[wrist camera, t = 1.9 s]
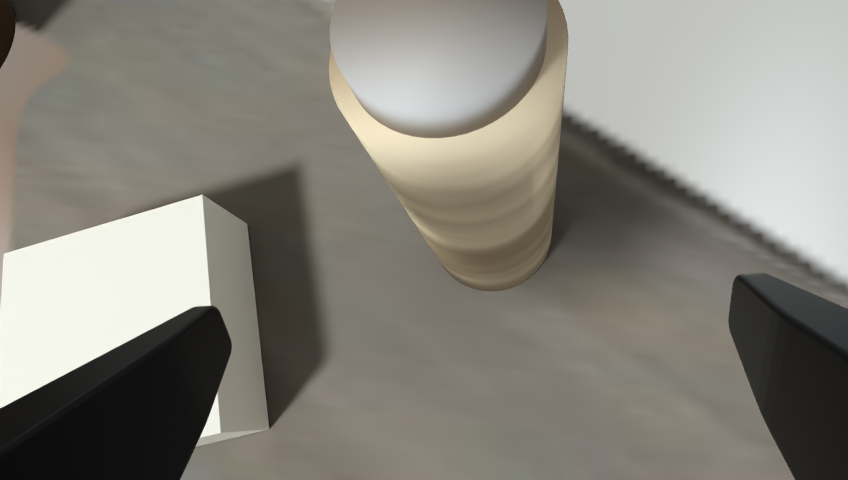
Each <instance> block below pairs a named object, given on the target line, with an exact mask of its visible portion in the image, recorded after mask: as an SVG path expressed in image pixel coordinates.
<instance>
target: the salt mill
mask: <svg viewBox="0 0 848 480" xmlns="http://www.w3.org/2000/svg"><path fill="white" fill-rule="evenodd" d="M330 43H331V52H330V58H329V76H330V85H331V88H332V92H333V96H334V98H335V100H336V103H337V105H338V107H339V109H340V111H341V112H342V114H343V115H344V117H345V118H346V120H347V121H348V123H349V124H350V126H351V127H352V129H353V131H354V132H355V134H356V135H357V137H358V138H359V140H360V141H361V143H362V144H363V146H364V147H365V149H366V150H367V152H368V153H369V155H370V156H371V158H372V159H373V161H374V162H375V164H376V165H377V167H378V168H379V170H380V172H381V173H382V175H383V176H384V178H385V179H386V181H387V182H388V184H389V185H390V187H391V188H392V190H393V191H394V193H395V194H396V196H397V197H398V199H399V200H400V202H401V203H402V205H403V206H404V208H405V210H406V211H407V213H408V214H409V216H410V217H411V219H412V220H413V222H414V223H415V225H416V226H417V228H418V229H419V231H420V232H421V234H422V235H423V237H424V238H425V240H426V241H427V243H428V244H429V246H430V247H431V249H432V251H433V252H434V254H435V255H436V257H437V258H438V260H439V261H440V263H441V264H442V266H443V267H444V269H445V270H446V271H447V272H448V273H449V274H450V275H451V276H452V277H453V278H454V279H456V280H457V281H459V282H460V283H462V284H464V285H466V286H468V287H471V288H474V289H478V290H483V291H499V290H505V289H509V288H512V287H515V286H517V285H519V284H521V283H523V282H524V281H526V280H527V279H529V278H530V277H531V276H532V275H533V274H534V273H535V272H536V271H537V270H538V269H539V268H540V266H541V265H542V264H543V262H544V260H545V258H546V256H547V254H548V251H549V248H550V243H551V236H552V225H553V213H554V202H555V190H556V179H557V168H558V156H559V145H560V133H561V122H562V110H563V99H564V88H565V87H564V86H565V76H566V65H567V53H568V52H567V51H568V30H567V23H566V19H565V16H564V12H563V9H562V7H561V5H560V3H559V1H558V0H336V3H335V6H334V9H333V12H332V17H331V22H330Z"/></svg>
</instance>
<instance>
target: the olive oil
mask: <svg viewBox="0 0 848 480" xmlns="http://www.w3.org/2000/svg"><path fill="white" fill-rule="evenodd" d="M14 34H15V16H14V11H13V8H12V5H11V3H10V2H9V0H0V68H1V66H2V65H3V63H4V61H5V59H6V58H7V55H8V53H9V51H10V48H11V46H12V42H13V39H14Z"/></svg>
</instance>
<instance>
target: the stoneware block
mask: <svg viewBox="0 0 848 480" xmlns="http://www.w3.org/2000/svg"><path fill="white" fill-rule="evenodd" d="M196 306H215V307H217V308H218V309H219V311H220V313H221V315H222V318H223V320H224V323H225V325H226V328H227V330H228V333H229V336H230V338H231V342H232V351H231V355H230V358H229V361H228V364H227V367H226V369H225V372H224V375H223V378H222V381H221V384H220V387H219V389H218V392H217V395H216V398H215V401H214V404H213V406H212V409H211V412H210V415H209V417H208V420H207V422H206V425H205V427H204V429H203V432H202V434H201V436H200V438H199V440H198V443H197V445H196V447H197V446H201V445H205V444H209V443H214V442H218V441H222V440H226V439H230V438H235V437H239V436H243V435H247V434H251V433H256V432H260V431H264V430H268V429H269V422H268V413H267V403H266V394H265V385H264V375H263V366H262V357H261V347H260V338H259V329H258V320H257V310H256V301H255V292H254V282H253V273H252V264H251V254H250V245H249V236H248V226H247V223H245V222H244V221H242V220H241V219H239V218H237V217H236V216H234V215H233V214H231V213H230V212H228V211H227V210H225V209H224V208H222V207H220V206H219V205H217V204H216V203H214V202H213V201H211V200H210V199H208V198H207V197H205V196H203V195H199V196H196V197H193V198H189V199H186V200H183V201H179V202H176V203H173V204H169V205H166V206H163V207H159V208H156V209H153V210H149V211H146V212H142V213H139V214H136V215H132V216H129V217H126V218H122V219H119V220H116V221H112V222H109V223H106V224H102V225H99V226H96V227H92V228H89V229H85V230H82V231H79V232H75V233H72V234H69V235H65V236H62V237H59V238H55V239H52V240H49V241H45V242H42V243H39V244H35V245H32V246H28V247H25V248H22V249H18V250H15V251H12V252H8V253H5V254H4V260H3V276H2V293H1V309H0V408H2V407H4V406H6V405H8V404H9V403H11V402H13V401H15V400H17V399H19V398H21V397H23V396H25V395H27V394H28V393H30V392H32V391H34V390H36V389H38V388H40V387H42V386H44V385H46V384H48V383H49V382H51V381H53V380H55V379H57V378H59V377H61V376H63V375H65V374H67V373H68V372H70V371H72V370H74V369H76V368H78V367H80V366H82V365H84V364H86V363H87V362H89V361H91V360H93V359H95V358H97V357H99V356H101V355H103V354H105V353H107V352H108V351H110V350H112V349H114V348H116V347H118V346H120V345H122V344H124V343H126V342H127V341H129V340H131V339H133V338H135V337H137V336H139V335H141V334H143V333H145V332H147V331H148V330H150V329H152V328H154V327H156V326H158V325H160V324H162V323H164V322H166V321H167V320H169V319H171V318H173V317H175V316H177V315H179V314H181V313H183V312H185V311H186V310H188V309H190V308H192V307H196Z"/></svg>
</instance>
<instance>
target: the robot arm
mask: <svg viewBox="0 0 848 480" xmlns="http://www.w3.org/2000/svg"><path fill="white" fill-rule="evenodd" d="M729 329H730V332H731V335H732V338H733V341H734V343H735V346H736V349H737V351H738V354H739V357H740V359H741V362H742V365H743V367H744V370H745V373H746V375H747V378H748V381H749V383H750V386H751V389H752V391H753V394H754V397H755V399H756V402H757V404H758V407H759V409H760V412H761V414H762V416H763V418H764V420H765V422H766V424H767V427H768V429H769V431H770V432H771V434H772V436H773V438H774V440H775V442H776V444H777V446H778V448H779V450H780V452H781V454H782V455H783V457H784V459H785V461H786V463H787V465H788V467H789V469H790V471H791V473H792V475H793V476H794V478H795V480H848V309H846V308H844V307H842V306H839V305H837V304H835V303H833V302H830V301H828V300H826V299H823V298H821V297H819V296H817V295H814V294H812V293H810V292H807V291H805V290H803V289H801V288H798V287H796V286H794V285H791V284H789V283H787V282H784V281H782V280H780V279H778V278H775V277H773V276H771V275H768V274H765V273H756V274H741V275H738V276H737V277H736V278H735V280H734V282H733V287H732V295H731V302H730V310H729ZM231 351H232V342H231V338H230V336H229V333H228V330H227V328H226V325H225V323H224V320H223V318H222V315H221V313H220V311H219V309H218V308H217V307H215V306H196V307H192V308H190V309H188V310H186V311H185V312H183V313H181V314H179V315H177V316H175V317H173V318H171V319H169V320H167V321H166V322H164V323H162V324H160V325H158V326H156V327H154V328H152V329H150V330H148V331H147V332H145V333H143V334H141V335H139V336H137V337H135V338H133V339H131V340H129V341H127V342H126V343H124V344H122V345H120V346H118V347H116V348H114V349H112V350H110V351H108V352H107V353H105V354H103V355H101V356H99V357H97V358H95V359H93V360H91V361H89V362H87V363H86V364H84V365H82V366H80V367H78V368H76V369H74V370H72V371H70V372H68V373H67V374H65V375H63V376H61V377H59V378H57V379H55V380H53V381H51V382H49V383H48V384H46V385H44V386H42V387H40V388H38V389H36V390H34V391H32V392H30V393H28V394H27V395H25V396H23V397H21V398H19V399H17V400H15V401H13V402H11V403H9V404H8V405H6V406H4V407H2V408H0V480H180V479H181V477H182V474H183V472H184V470H185V468H186V466H187V464H188V462H189V460H190V457H191V455H192V453H193V451H194V449H195V447H196V445H197V443H198V440H199V438H200V436H201V434H202V432H203V429H204V427H205V425H206V422H207V420H208V417H209V415H210V412H211V409H212V406H213V404H214V401H215V398H216V395H217V392H218V389H219V387H220V384H221V381H222V378H223V375H224V372H225V369H226V367H227V364H228V361H229V358H230V355H231Z"/></svg>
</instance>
